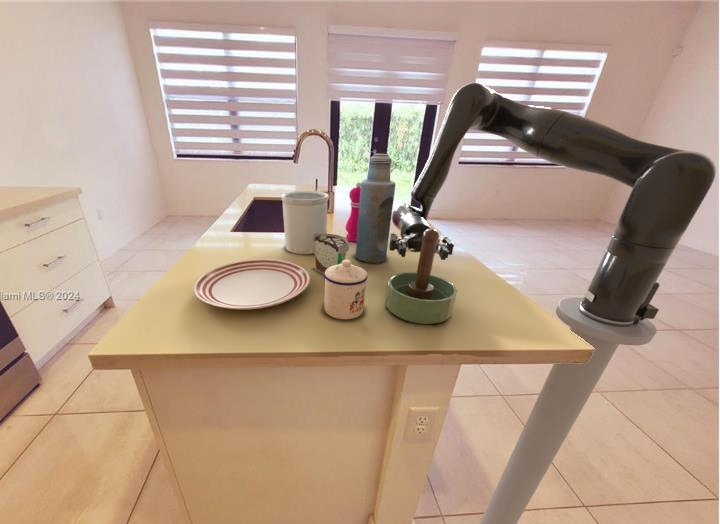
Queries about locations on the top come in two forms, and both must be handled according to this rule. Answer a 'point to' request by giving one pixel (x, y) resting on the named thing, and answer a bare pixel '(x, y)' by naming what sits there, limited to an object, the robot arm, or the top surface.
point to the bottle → (375, 210)
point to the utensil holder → (304, 219)
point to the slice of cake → (329, 250)
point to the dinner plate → (251, 284)
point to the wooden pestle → (424, 267)
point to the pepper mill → (353, 214)
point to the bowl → (420, 300)
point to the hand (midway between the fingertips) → (424, 254)
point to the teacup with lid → (344, 290)
